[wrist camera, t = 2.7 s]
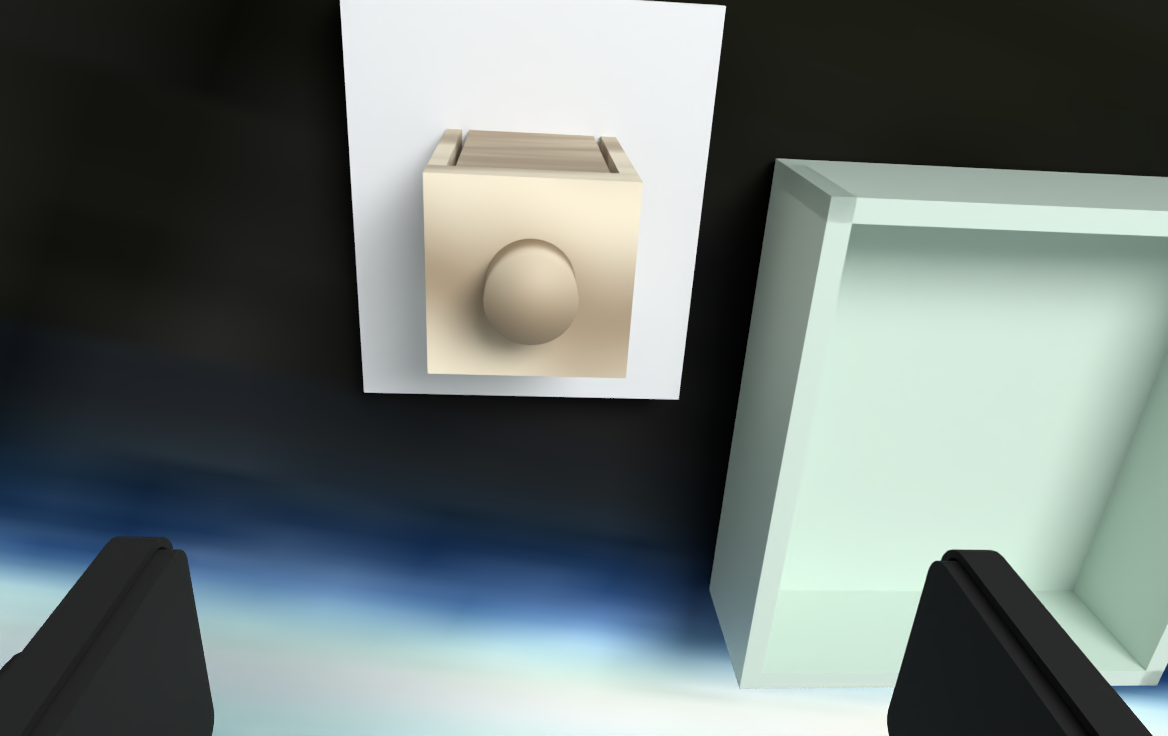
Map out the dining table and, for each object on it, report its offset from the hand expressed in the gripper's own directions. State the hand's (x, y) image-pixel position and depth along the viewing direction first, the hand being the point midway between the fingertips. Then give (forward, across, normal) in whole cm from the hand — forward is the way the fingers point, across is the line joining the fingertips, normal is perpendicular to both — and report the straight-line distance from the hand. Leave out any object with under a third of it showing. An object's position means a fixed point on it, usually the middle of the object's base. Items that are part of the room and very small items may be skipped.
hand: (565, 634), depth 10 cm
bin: (+22, -17, +8) cm, 29 cm away
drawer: (+20, +1, 0) cm, 20 cm away
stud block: (+22, +1, 0) cm, 22 cm away
